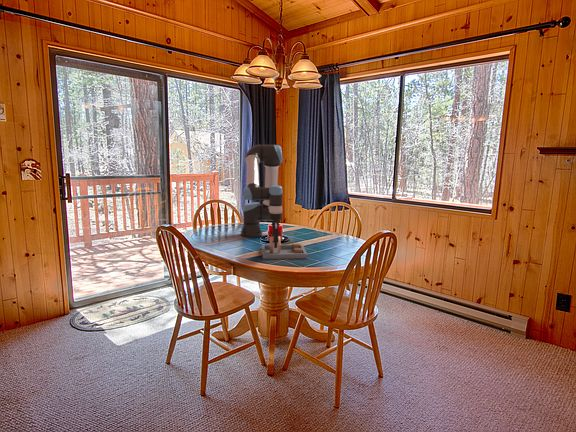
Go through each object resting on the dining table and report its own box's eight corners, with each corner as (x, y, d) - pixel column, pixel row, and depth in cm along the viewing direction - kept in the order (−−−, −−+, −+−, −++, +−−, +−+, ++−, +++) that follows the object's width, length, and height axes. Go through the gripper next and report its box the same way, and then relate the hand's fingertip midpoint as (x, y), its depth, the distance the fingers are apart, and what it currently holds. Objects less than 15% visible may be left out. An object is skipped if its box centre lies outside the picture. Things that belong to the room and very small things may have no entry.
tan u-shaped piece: (269, 250, 216) (269, 235, 215) (280, 250, 217) (280, 235, 215) (269, 253, 210) (270, 238, 209) (280, 253, 211) (281, 238, 209)
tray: (261, 249, 223) (261, 244, 223) (302, 249, 226) (302, 244, 225) (262, 259, 203) (262, 254, 202) (307, 259, 205) (307, 254, 205)
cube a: (291, 250, 221) (292, 243, 221) (298, 249, 222) (298, 243, 222) (293, 251, 217) (293, 245, 217) (300, 251, 219) (300, 245, 218)
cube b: (295, 254, 212) (295, 247, 212) (301, 254, 212) (302, 248, 211) (294, 256, 208) (294, 249, 208) (301, 256, 208) (301, 250, 207)
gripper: (268, 209, 218) (268, 246, 223) (269, 215, 200) (269, 256, 204) (280, 209, 219) (280, 246, 223) (283, 215, 200) (282, 255, 204)
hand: (275, 251), depth 214 cm, fingers closed on tan u-shaped piece, 6 cm apart
